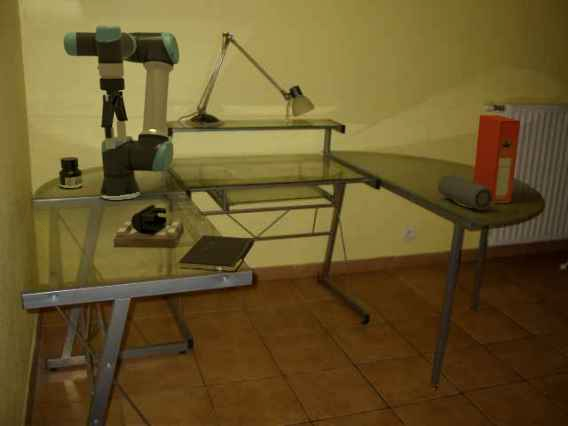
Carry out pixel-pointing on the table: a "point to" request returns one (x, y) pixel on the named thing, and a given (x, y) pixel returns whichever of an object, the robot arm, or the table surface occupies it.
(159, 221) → the black notched block
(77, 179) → the ink bottle
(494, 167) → the file binder
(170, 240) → the display riser
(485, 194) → the bluetooth speaker
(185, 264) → the hardcover book
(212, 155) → the table surface
